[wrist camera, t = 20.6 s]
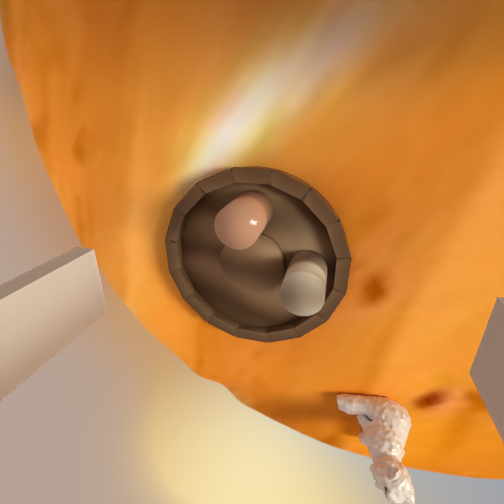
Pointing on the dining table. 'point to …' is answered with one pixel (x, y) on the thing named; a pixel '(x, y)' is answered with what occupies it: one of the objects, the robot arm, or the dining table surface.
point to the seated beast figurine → (383, 441)
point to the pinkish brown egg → (243, 219)
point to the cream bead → (304, 283)
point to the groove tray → (284, 226)
